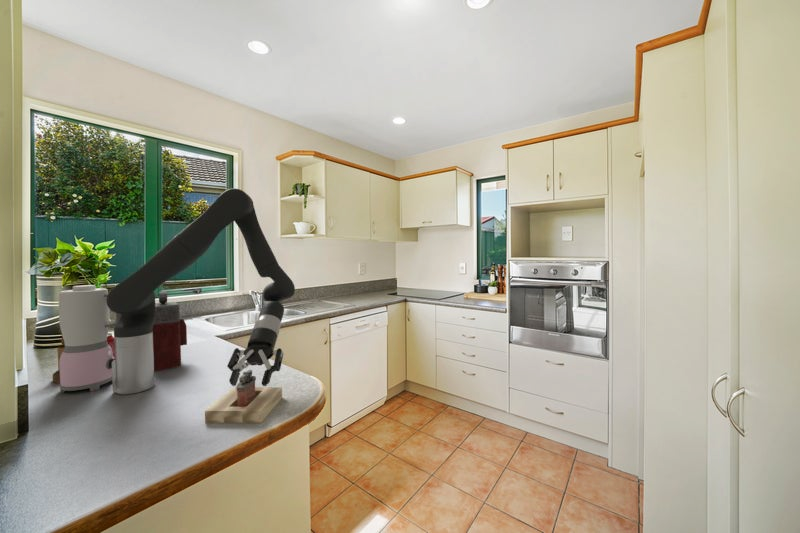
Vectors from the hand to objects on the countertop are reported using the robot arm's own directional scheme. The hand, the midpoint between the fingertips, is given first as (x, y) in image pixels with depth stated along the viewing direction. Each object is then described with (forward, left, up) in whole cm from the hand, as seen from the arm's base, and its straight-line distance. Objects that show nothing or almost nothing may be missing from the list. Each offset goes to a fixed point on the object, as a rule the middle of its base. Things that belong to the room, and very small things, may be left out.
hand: (248, 384), depth 88 cm
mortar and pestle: (-71, +20, -6) cm, 74 cm away
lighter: (0, -1, -6) cm, 7 cm away
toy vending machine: (-46, +33, -6) cm, 57 cm away
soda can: (-69, +31, -6) cm, 76 cm away
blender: (-56, +14, -6) cm, 58 cm away
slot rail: (0, -1, -6) cm, 6 cm away
